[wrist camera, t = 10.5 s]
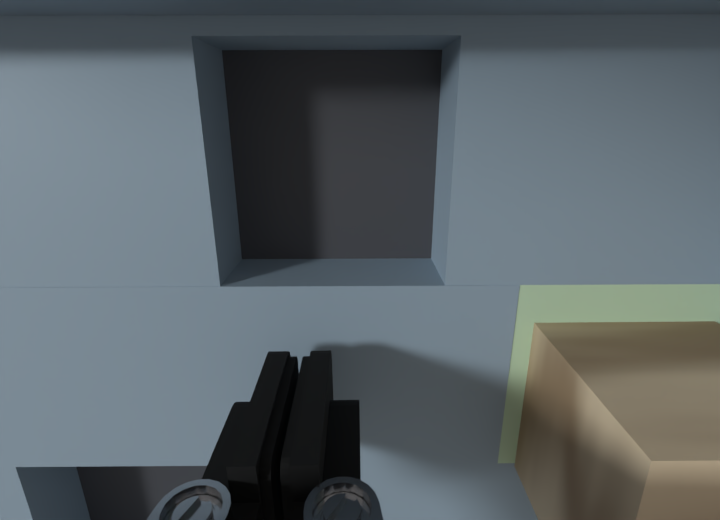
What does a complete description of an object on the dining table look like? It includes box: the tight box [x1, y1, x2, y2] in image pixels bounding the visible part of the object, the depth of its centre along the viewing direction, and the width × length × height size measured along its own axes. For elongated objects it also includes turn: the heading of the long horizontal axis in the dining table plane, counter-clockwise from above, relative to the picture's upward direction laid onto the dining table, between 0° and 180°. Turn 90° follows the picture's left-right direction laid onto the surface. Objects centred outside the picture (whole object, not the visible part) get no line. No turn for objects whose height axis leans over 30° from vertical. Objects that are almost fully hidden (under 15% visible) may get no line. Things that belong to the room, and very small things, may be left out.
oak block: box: [514, 321, 720, 520], centre depth 10 cm, size 5×5×5 cm
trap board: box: [0, 0, 720, 520], centre depth 12 cm, size 20×32×5 cm, turn 90°
